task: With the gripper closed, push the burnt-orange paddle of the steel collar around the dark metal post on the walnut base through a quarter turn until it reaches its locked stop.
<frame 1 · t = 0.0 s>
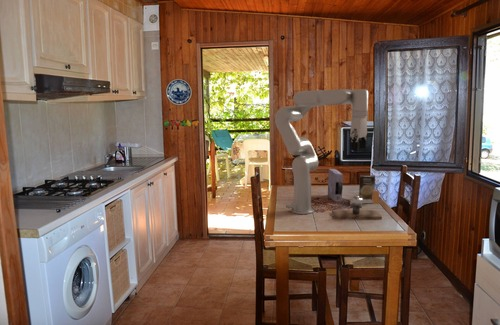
hand: (358, 149, 203), 37 cm above the table, tool pointing down, fingers open, 9 cm apart
cake pan box: (334, 199, 257), on the table
coffee box: (366, 202, 248), on the table
twist collar: (364, 197, 216), point 10 cm above the table, hinge at 0.0°
bayonet base: (356, 216, 218), on the table
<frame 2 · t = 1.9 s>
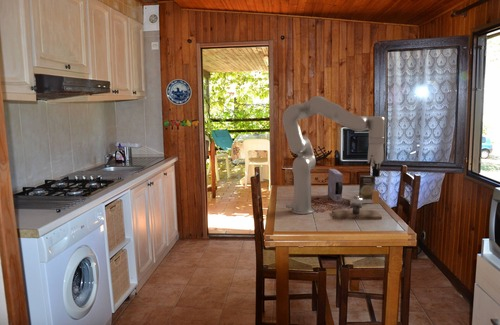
hand: (376, 176, 208), 23 cm above the table, tool pointing down, fingers closed
nothing on the table moved.
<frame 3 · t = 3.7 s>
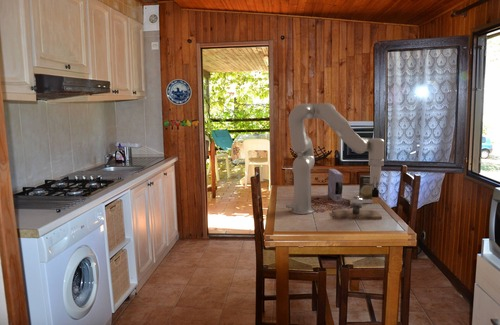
hand: (375, 197, 213), 11 cm above the table, tool pointing down, fingers closed
twist collar: (364, 197, 216), point 10 cm above the table, hinge at 1.7°, touching gripper
everything else where it was.
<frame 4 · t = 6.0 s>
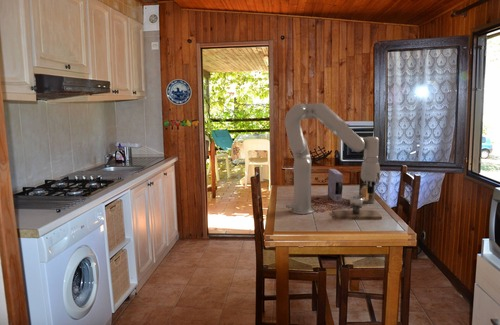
hand: (370, 193, 221), 11 cm above the table, tool pointing down, fingers closed
twist collar: (360, 196, 219), point 10 cm above the table, hinge at 50.4°, touching gripper
everything else where it was.
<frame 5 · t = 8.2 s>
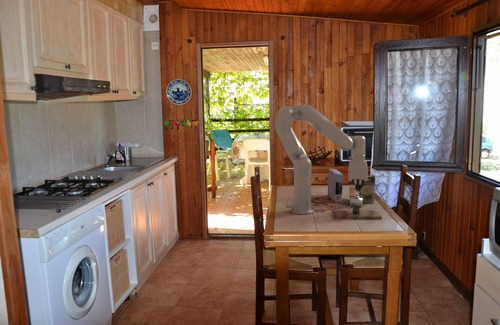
hand: (357, 191, 226), 11 cm above the table, tool pointing down, fingers closed
twist collar: (354, 195, 221), point 10 cm above the table, hinge at 93.2°, touching gripper
everything else where it was.
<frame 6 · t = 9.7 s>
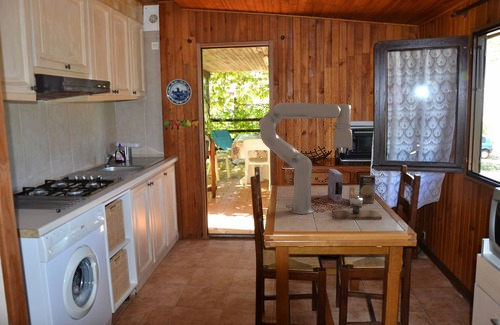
hand: (342, 159, 227), 29 cm above the table, tool pointing down, fingers closed
twist collar: (354, 195, 221), point 10 cm above the table, hinge at 93.8°
everything else where it was.
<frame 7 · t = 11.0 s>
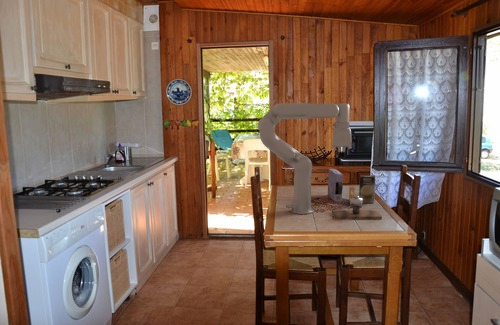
hand: (341, 158, 227), 29 cm above the table, tool pointing down, fingers closed
nothing on the table moved.
at the end: twist collar at +94° (first picture: +0°); cake pan box moved 0.3 cm from its start; coffee box moved 0.2 cm from its start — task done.
